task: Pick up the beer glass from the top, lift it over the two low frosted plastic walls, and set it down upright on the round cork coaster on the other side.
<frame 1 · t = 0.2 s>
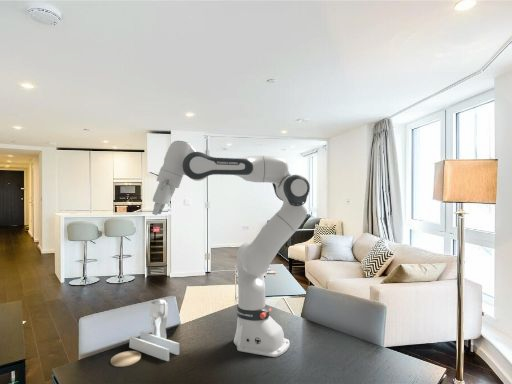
hand: (156, 214, 115), 51 cm above the table, tool tilted 20°, fingers open, 8 cm apart
cork coaster: (126, 358, 107), on the table
beer glass: (158, 339, 123), on the table
low plastic fence: (153, 350, 113), on the table
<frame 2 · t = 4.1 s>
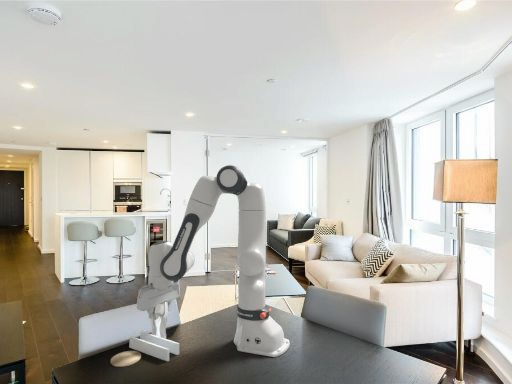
hand: (159, 314, 123), 10 cm above the table, tool pointing down, fingers closed on beer glass, 6 cm apart
beer glass: (158, 339, 123), on the table, touching gripper
when the fingers open (11 cm above the table, at t = 10.3 s): beer glass moves 2 cm, resting on cork coaster.
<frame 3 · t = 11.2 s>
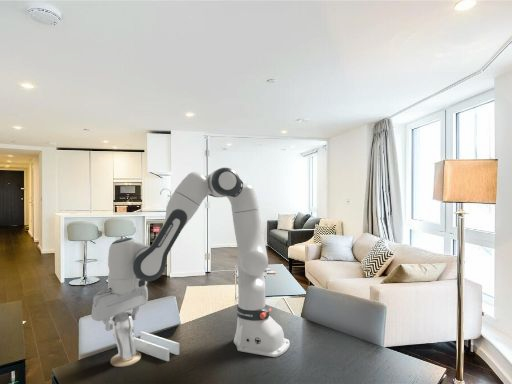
hand: (121, 324, 105), 13 cm above the table, tool pointing down, fingers open, 8 cm apart
beer glass: (127, 355, 107), point 1 cm above the table, touching cork coaster, gripper
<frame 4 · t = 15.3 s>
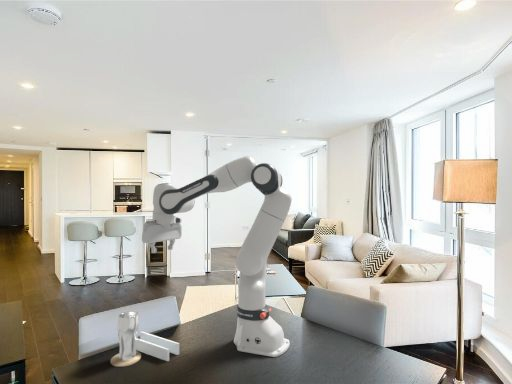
hand: (162, 251, 133), 34 cm above the table, tool pointing down, fingers open, 8 cm apart
beer glass: (127, 357, 107), resting on cork coaster
at the end: beer glass inside the target area on the cork coaster (0.6 cm from its centre), point 0.2 cm above the cork coaster's base; beer glass tilted 0°; the gripper is holding nothing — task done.
